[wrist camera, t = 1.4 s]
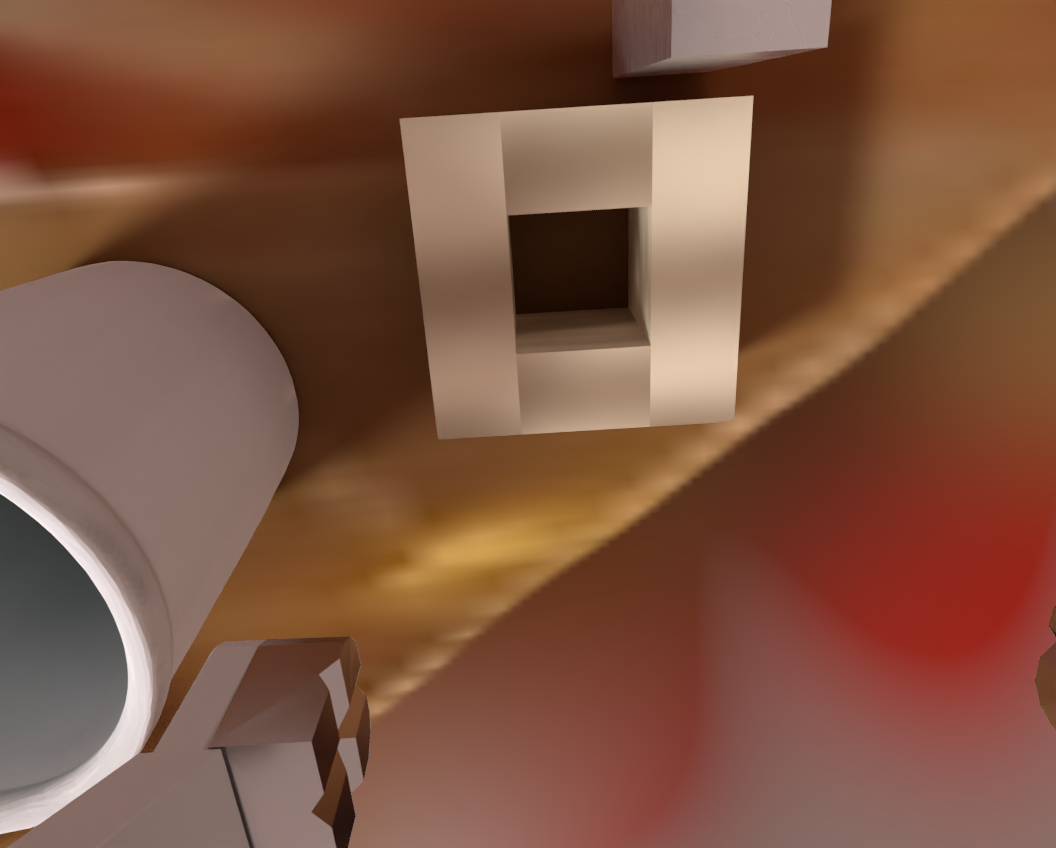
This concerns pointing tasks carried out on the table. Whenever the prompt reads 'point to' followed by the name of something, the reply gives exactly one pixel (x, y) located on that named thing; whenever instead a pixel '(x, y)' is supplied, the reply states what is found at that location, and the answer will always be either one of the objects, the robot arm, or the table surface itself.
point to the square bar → (712, 33)
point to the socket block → (653, 264)
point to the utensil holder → (119, 506)
